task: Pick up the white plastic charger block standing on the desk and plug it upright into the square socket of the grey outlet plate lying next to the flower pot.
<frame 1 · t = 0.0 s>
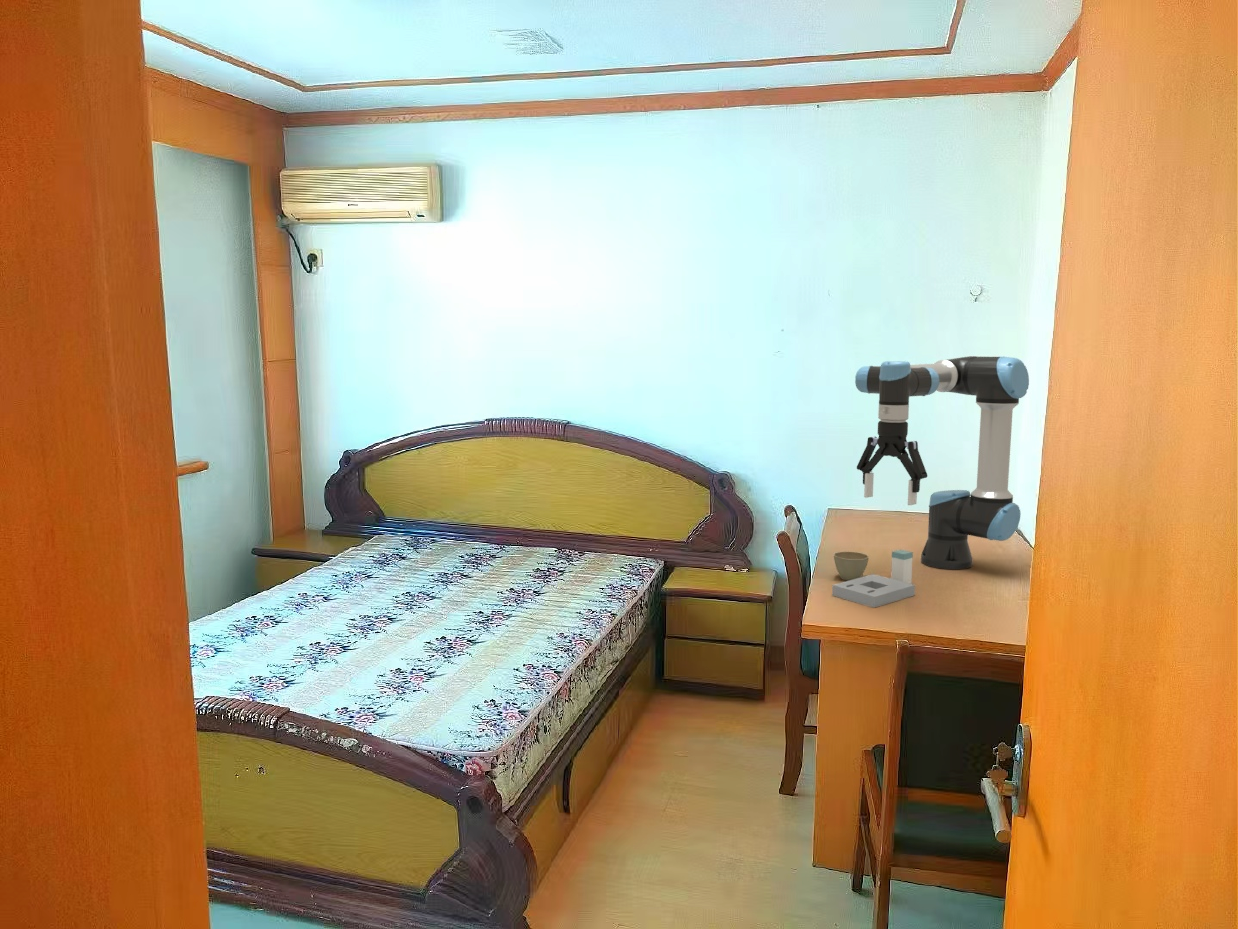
hand: (889, 500, 235), 28 cm above the table, fingers open, 13 cm apart
flower pot: (850, 579, 263), on the table
outlet plate: (873, 595, 246), on the table
charger: (900, 585, 255), on the table
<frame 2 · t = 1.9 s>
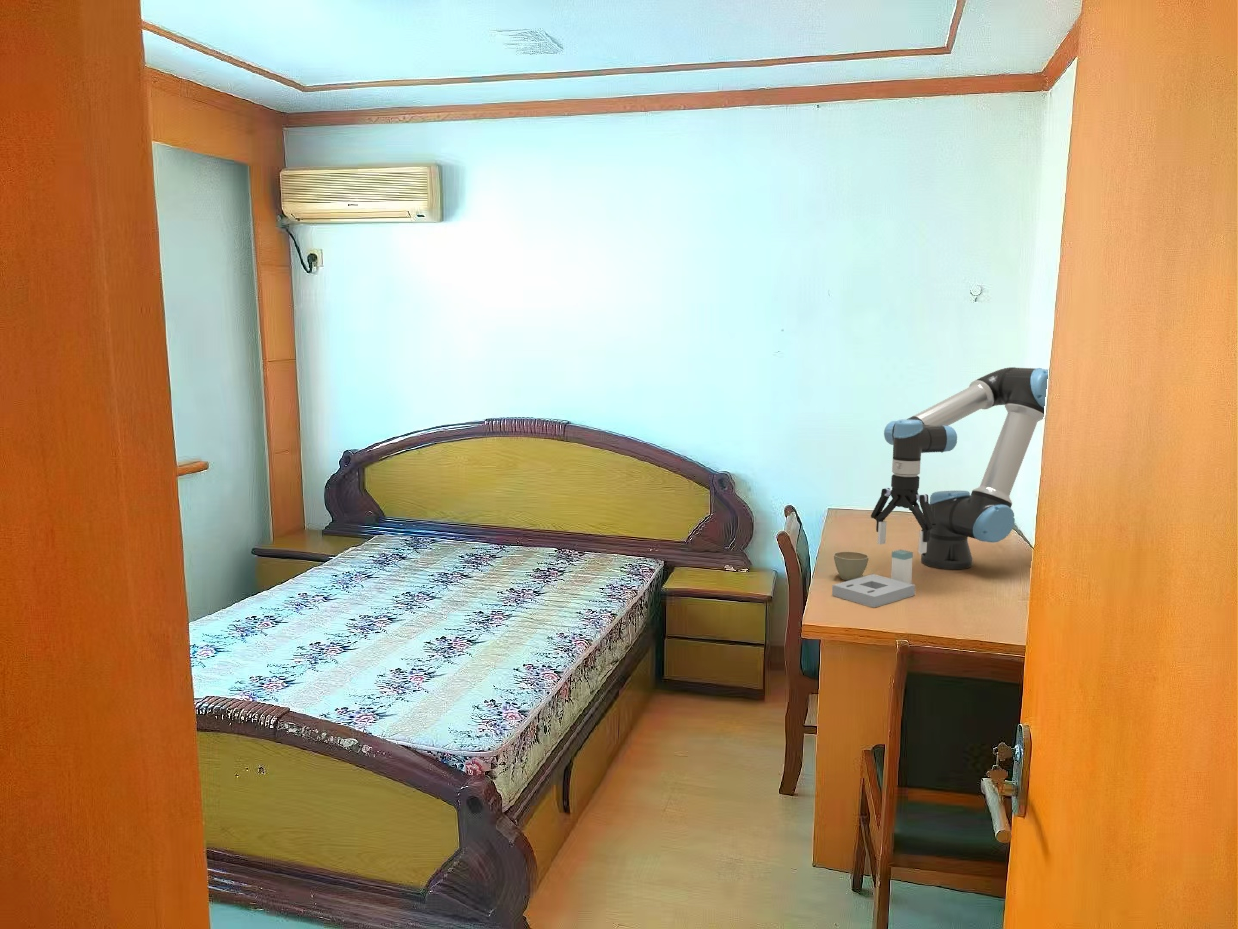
hand: (901, 548, 254), 11 cm above the table, fingers open, 13 cm apart
nothing on the table moved.
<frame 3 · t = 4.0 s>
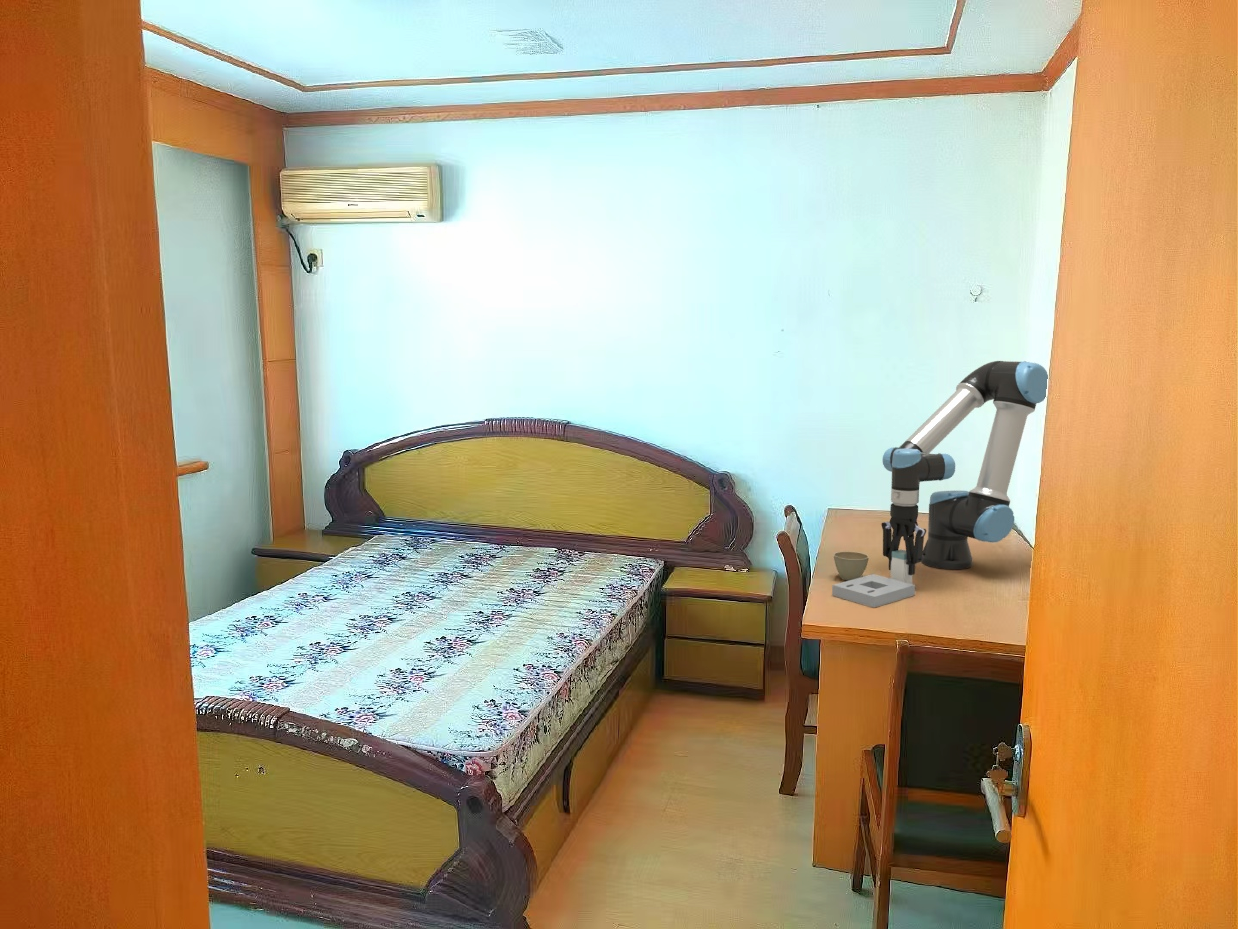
hand: (901, 583, 255), 1 cm above the table, fingers closed on charger, 4 cm apart
charger: (900, 585, 255), on the table, touching gripper
everything else where it was.
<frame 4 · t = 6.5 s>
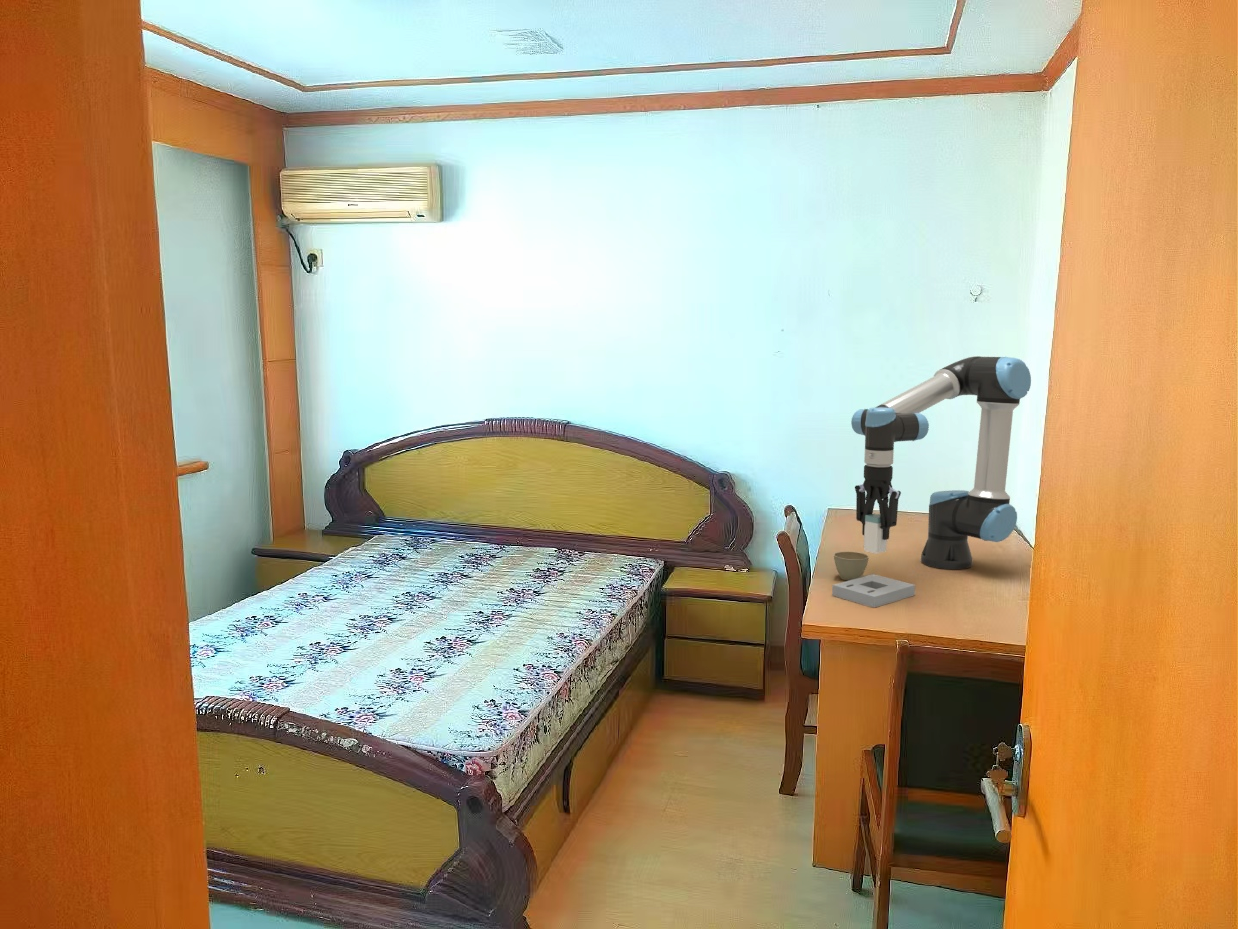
hand: (874, 549, 244), 13 cm above the table, fingers closed on charger, 4 cm apart
charger: (874, 551, 244), point 13 cm above the table, touching gripper
everything else where it was.
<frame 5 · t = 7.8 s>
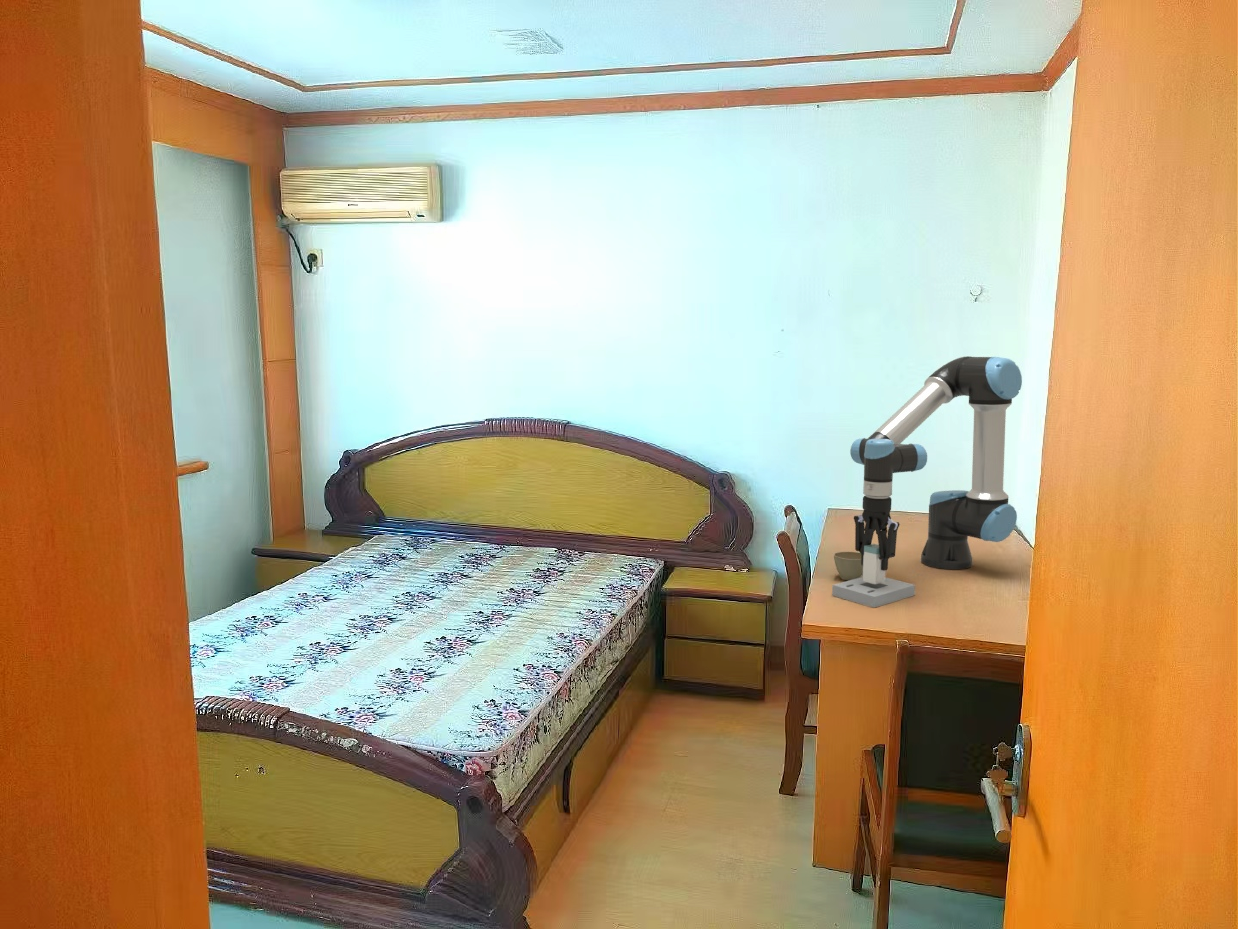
hand: (873, 579, 245), 5 cm above the table, fingers closed on charger, 4 cm apart
charger: (873, 581, 246), point 4 cm above the table, touching gripper
everything else where it was.
when the fingers open (3 cm above the table, at t = 9.0 s): charger drops 3 cm, resting in outlet plate.
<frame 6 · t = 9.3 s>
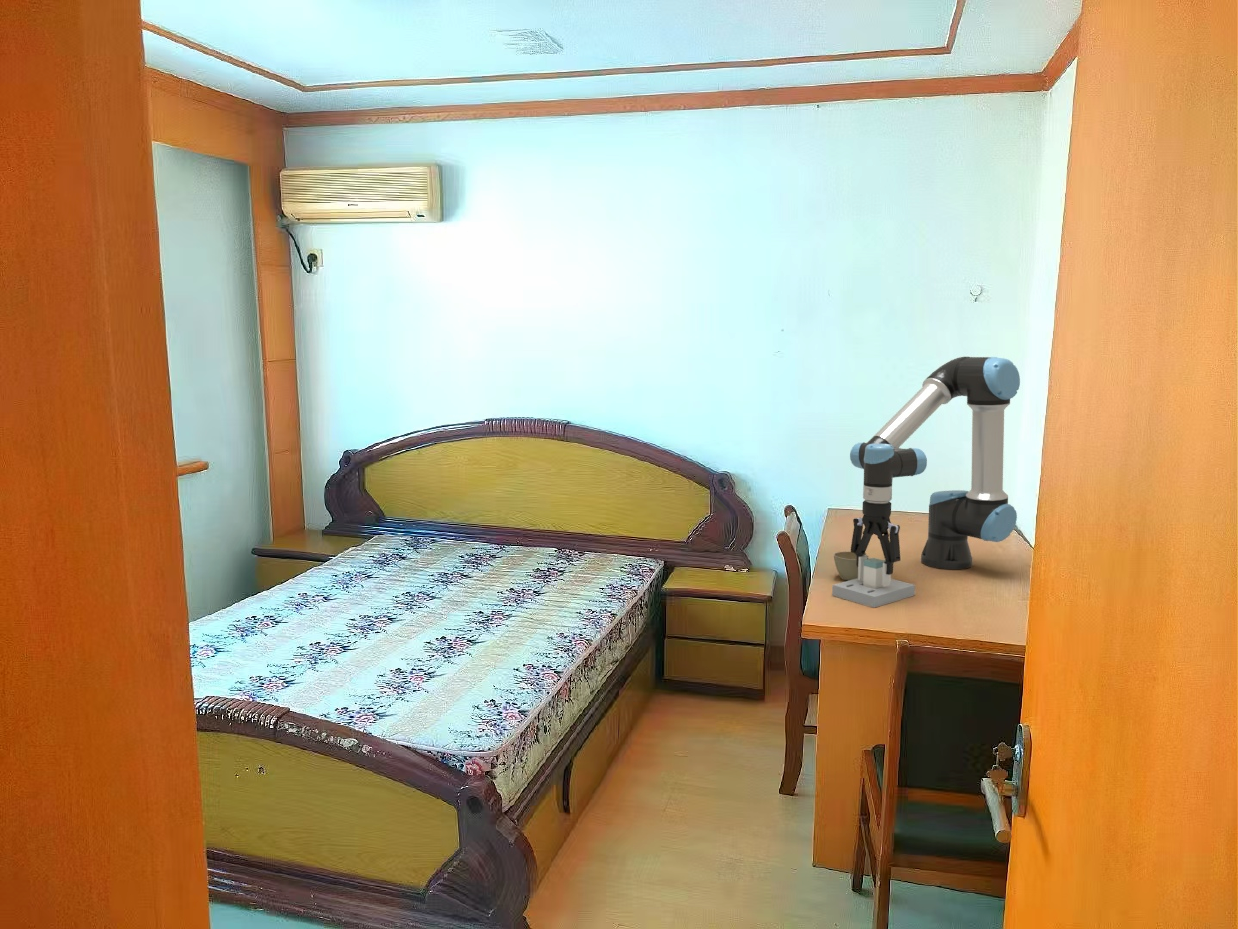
hand: (873, 582, 246), 4 cm above the table, fingers open, 7 cm apart
charger: (873, 595, 246), resting in outlet plate
everything else where it was.
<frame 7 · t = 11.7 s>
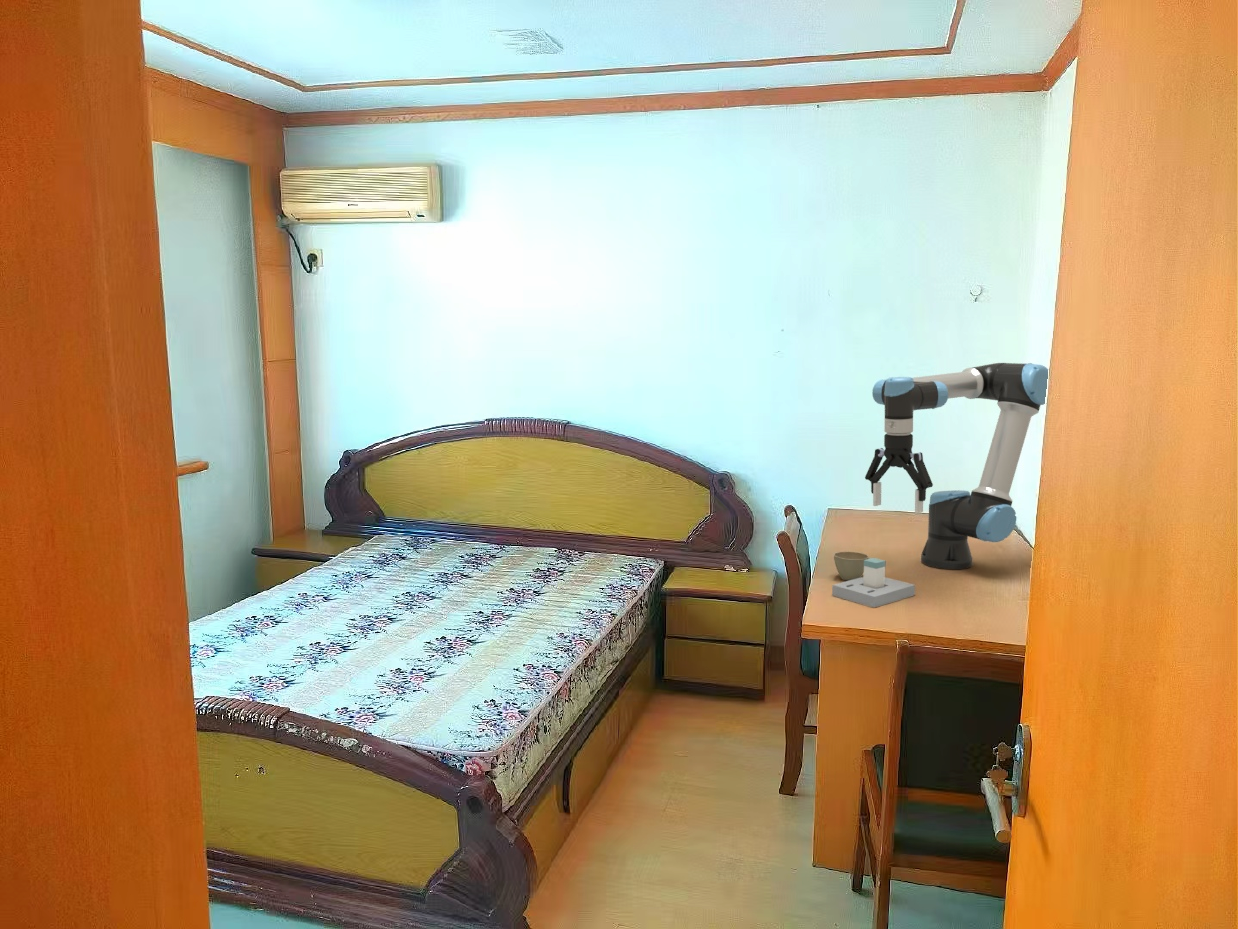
hand: (897, 508, 249), 23 cm above the table, fingers open, 13 cm apart
nothing on the table moved.
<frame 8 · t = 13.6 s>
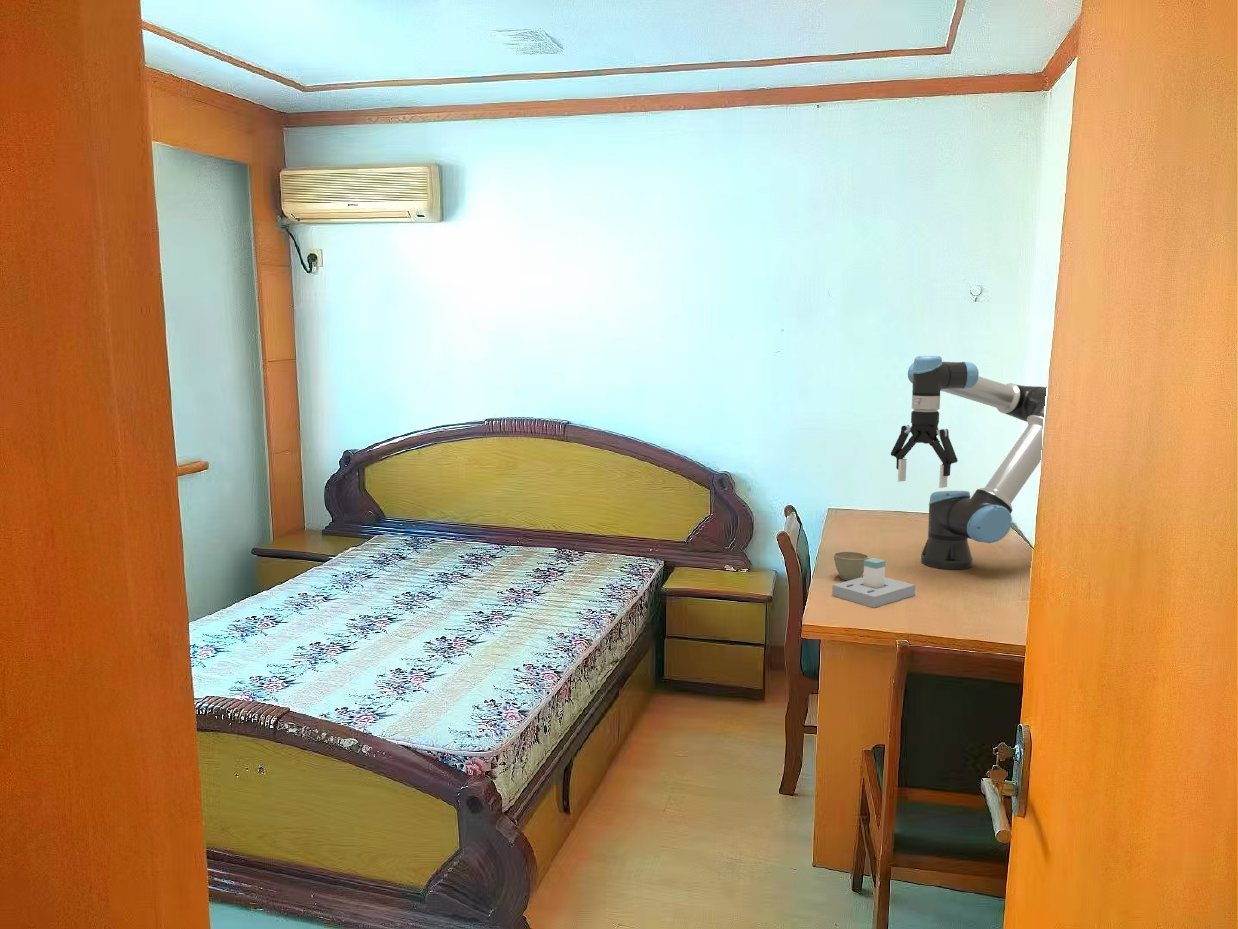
hand: (921, 484, 256), 29 cm above the table, fingers open, 13 cm apart
nothing on the table moved.
at the end: charger 0.0 cm off-centre on the outlet plate, point 0.0 cm above the outlet plate's base; charger tilted 0°; the gripper is holding nothing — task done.
